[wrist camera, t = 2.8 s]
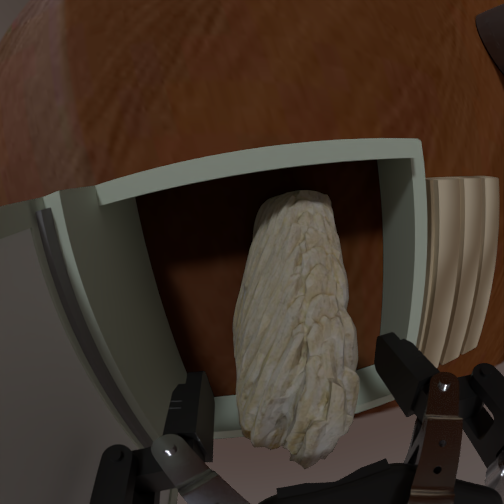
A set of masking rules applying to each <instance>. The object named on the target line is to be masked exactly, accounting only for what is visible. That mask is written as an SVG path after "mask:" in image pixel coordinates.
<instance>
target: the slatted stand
mask: <svg viewBox="0 0 504 504" xmlns="http://www.w3.org/2000/svg"><path fill="white" fill-rule="evenodd" d="M425 181H426V196H427V261H426V276H425V287H424V297H423V305H422V313H421V319H420V326H419V332H418V337H417V343H416V347H417V348H418V350H420V351H421V352H422V353H423V355H425V356H426V358H427V359H428V360H429V361H430V362H431V363H432V364H433V365H434V366H435V367H436V368H437V367H438V364H439V362H440V364H441V365H443V364H445V363H447V362H449V361H451V360H453V359H455V358H457V357H459V354H460V353H461V354H462V355H463V354H465V353H466V352H468V351H470V350H472V349H473V348H475V347H477V344H478V340H479V337H480V334H481V330H482V327H483V323H484V319H485V315H486V311H487V307H488V302H489V297H490V292H491V287H492V281H493V275H494V269H495V261H496V253H497V242H498V228H499V178H495V177H489V176H461V177H437V178H425Z"/></svg>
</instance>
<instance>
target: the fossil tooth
mask: <svg viewBox="0 0 504 504" xmlns="http://www.w3.org/2000/svg"><path fill="white" fill-rule="evenodd" d="M348 299H349V294H348V281H347V276H346V271H345V269H344V266H343V260H342V253H341V247H340V241H339V236H338V235H337V230H336V226H335V222H334V216H333V210H332V208H331V201H330V198H329V197H328V195H327V194H322V193H320V192H317V191H311V190H297V191H292V192H287V193H285V194H282V195H278V196H275V197H272V198H269V199H268V200H267V201H265V202H264V203H263V204H262V205H261V207H260V209H259V211H258V213H257V216H256V219H255V223H254V230H253V241H252V244H251V246H250V249H249V255H248V259H247V262H246V266H245V271H244V275H243V279H242V284H241V289H240V293H239V296H238V300H237V303H236V308H235V312H234V317H233V334H234V336H233V341H234V357H235V358H236V369H237V384H236V402H237V409H238V415H239V425H240V427H241V430H242V434H243V435H244V436H245V437H246V438H248V439H250V440H251V443H252V445H253V446H254V447H266V448H268V449H270V450H271V449H275V448H279V447H280V446H283V448H285V449H288V450H289V452H290V454H291V457H290V461H295V462H297V463H298V464H300V465H301V466H302V467H303V468H304V469H306V468H308V467H310V466H312V465H314V464H315V463H316V462H318V460H319V459H325V458H326V457H327V456H328V454H329V453H331V452H332V451H333V449H334V448H335V446H336V444H337V441H338V439H339V438H340V437H341V436H342V435H344V434H346V433H347V432H348V430H349V427H350V425H351V424H352V423H353V418H354V414H355V410H356V405H357V400H358V394H359V382H360V379H359V376H358V375H357V373H356V367H357V362H358V347H357V334H356V328H355V326H354V324H353V322H352V319H351V318H350V316H349V315H348V313H347V311H346V309H347V304H348Z"/></svg>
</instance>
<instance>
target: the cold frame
mask: <svg viewBox="0 0 504 504" xmlns="http://www.w3.org/2000/svg"><path fill="white" fill-rule="evenodd" d="M364 160H377V165H378V173H379V182H380V193H381V206H382V222H383V300H382V316H381V329H380V336H381V335H384V334H387V333H390V332H394V333H395V334H396V335H397V336H398V337H399V338H400V339H406V340H408V341H410V342H412V343H413V344H414V345H415V346H416V343H417V337H418V332H419V326H420V319H421V313H422V305H423V297H424V287H425V276H426V261H427V196H426V181H425V170H424V160H423V152H422V145H421V140H418V139H408V138H372V139H345V140H328V141H315V142H304V143H294V144H285V145H277V146H269V147H261V148H254V149H248V150H241V151H235V152H229V153H224V154H218V155H213V156H208V157H203V158H198V159H193V160H188V161H184V162H179V163H175V164H171V165H166V166H162V167H158V168H154V169H150V170H147V171H143V172H139V173H136V174H132V175H128V176H125V177H122V178H118V179H115V180H112V181H108V182H105V183H102V184H99V185H96V186H89V187H81V188H74V189H67V190H60V191H57V192H54V193H52V194H49V195H47V196H45V197H42V198H37V199H32V200H27V201H22V202H18V203H13V204H9V205H5V206H1V207H0V504H89V503H90V499H91V495H92V491H93V487H94V483H95V479H96V475H97V471H98V468H99V464H100V460H101V457H102V454H103V452H104V451H105V450H106V449H107V448H108V447H110V446H112V445H115V444H122V445H125V446H127V447H128V448H129V449H130V450H131V451H133V450H138V449H143V448H147V447H150V446H152V444H153V442H154V441H155V440H156V439H157V438H159V437H160V436H162V435H163V431H164V426H165V422H166V417H167V413H168V409H169V404H170V402H171V401H170V400H171V396H172V392H173V391H174V389H175V388H176V387H177V385H178V384H185V383H186V378H187V372H186V370H185V367H184V365H183V362H182V359H181V357H180V354H179V351H178V349H177V346H176V343H175V340H174V338H173V335H172V332H171V329H170V326H169V323H168V320H167V317H166V314H165V311H164V308H163V305H162V301H161V298H160V295H159V291H158V288H157V285H156V281H155V278H154V274H153V271H152V267H151V263H150V259H149V256H148V252H147V248H146V244H145V240H144V235H143V231H142V227H141V222H140V218H139V213H138V208H137V204H136V199H135V197H137V196H141V195H145V194H149V193H154V192H158V191H162V190H166V189H171V188H175V187H180V186H185V185H189V184H194V183H199V182H204V181H209V180H215V179H220V178H225V177H231V176H237V175H243V174H249V173H255V172H262V171H269V170H276V169H283V168H291V167H299V166H308V165H317V164H327V163H338V162H350V161H364ZM356 373H357V375H358V376H359V379H360V382H359V394H358V400H357V405H356V410H355V413H358V412H362V411H365V410H368V409H371V408H374V407H376V406H379V405H382V404H385V403H387V402H390V401H393V400H395V399H394V397H393V396H392V394H391V393H390V391H389V390H388V388H387V387H386V385H385V384H384V382H383V381H382V379H381V378H380V376H379V375H378V373H377V371H376V369H375V365H372V366H369V367H365V368H362V369H359V370H356ZM214 400H215V416H214V437H213V439H221V438H234V437H244V435H243V434H242V430H241V427H240V425H239V415H238V409H237V402H236V395H230V396H221V397H214ZM177 496H178V489H177V488H173V489H168V490H163V491H160V503H159V504H177Z"/></svg>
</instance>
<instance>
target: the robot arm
mask: <svg viewBox="0 0 504 504" xmlns="http://www.w3.org/2000/svg"><path fill="white" fill-rule="evenodd" d="M476 25H477V28H478V31H479V34H480V36H481V38H482V40H483V43H484V45H485V46H486V48H487V50H488V52H489V54H490V55H491V57H492V59H493V60H494V62H495V63H496V65H497V66H498V67H499V69H500V70H501V71H502V73H503V74H504V4H502V5H500V6H497V7H494V8H492V9H490V10H487V11H485V12H483V13H481V14H478V15H477V16H476ZM374 364H375V369H376V371H377V373H378V375H379V376H380V378H381V379H382V381H383V382H384V384H385V385H386V387H387V388H388V390H389V391H390V393H391V394H392V396H393V397H394V399H395V400H396V402H397V403H398V405H399V406H400V408H401V409H402V411H403V412H404V414H405V415H406V417H409V416H411V415H413V414H415V415H416V416H417V419H416V421H415V426H414V430H413V435H412V439H411V443H410V447H409V450H408V454H407V456H406V458H405V461H404V463H392V464H388V462H387V460H386V459H383V460H381V461H378V462H376V463H373V464H370V465H367V466H365V467H362V468H360V469H358V470H356V471H355V472H353V473H351V474H349V475H348V476H346V477H344V478H342V479H340V480H339V481H336V482H327V483H304V484H299V485H294V486H288V487H283V488H277V494H276V495H274V496H271V497H269V498H267V499H265V500H263V501H262V502H260V503H259V504H504V376H503V375H502V374H501V373H500V372H499V371H498V370H497V369H496V368H495V367H494V366H492V365H490V364H487V363H481V364H478V365H477V366H475V368H474V369H473V372H472V374H471V375H467V376H463V377H458V378H457V377H456V376H455V375H454V374H452V373H449V372H440V371H439V370H438V369H437V368H436V367H435V366H434V365H433V364H432V363H431V362H430V361H429V360H428V359H427V358H426V356H425V355H423V353H422V352H421V351H420V350H418V348H417V347H416V346H415V345H414V344H413V343H412V342H410V341H408V340H406V339H400V338H399V337H398V336H397V335H396V334H395V333H394V332H390V333H387V334H384V335H381V336H378V337H377V342H376V351H375V360H374ZM170 401H171V402H170V404H169V409H168V413H167V417H166V422H165V426H164V431H163V435H162V436H160V437H159V438H157V439H156V440H155V441H154V442H153V444H152V446H150V447H147V448H143V449H138V450H133V451H131V450H130V449H129V448H128V447H127V446H125V445H122V444H115V445H112V446H110V447H108V448H107V449H106V450H105V451H104V452H103V454H102V457H101V460H100V464H99V468H98V471H97V475H96V479H95V483H94V487H93V491H92V495H91V499H90V503H89V504H159V503H160V491H163V490H168V489H173V488H177V489H178V492H179V493H180V495H181V496H182V497H183V498H184V500H185V501H186V502H187V503H188V504H250V503H249V502H248V501H247V500H245V499H244V498H243V497H242V496H241V495H240V494H239V493H237V492H236V491H235V490H234V489H233V488H232V487H231V486H230V485H229V484H228V483H227V482H226V481H224V480H223V479H222V478H221V477H220V476H219V475H218V474H217V473H216V472H215V471H212V470H211V469H210V468H209V467H208V466H207V465H206V464H205V462H213V437H214V416H215V400H214V395H213V392H212V389H211V386H210V384H209V381H208V378H207V375H206V373H205V371H199V372H189V373H188V374H187V378H186V383H185V384H178V385H177V387H176V388H175V389H174V391H173V392H172V396H171V400H170ZM484 404H485V405H486V406H487V407H488V409H489V410H490V411H491V412H492V414H493V416H494V420H493V419H492V417H491V416H490V415H489V413H488V412H487V411H486V409H485V408H484V407H483V405H484ZM462 429H463V430H464V432H465V433H466V435H467V436H468V438H469V439H470V441H471V443H472V444H473V446H474V447H475V449H476V451H477V452H478V454H479V455H480V457H481V459H482V461H483V462H484V464H485V466H486V467H487V472H486V479H485V485H486V486H483V485H479V484H474V483H470V482H466V481H462V480H458V479H456V474H457V469H458V463H459V457H460V449H461V440H462Z"/></svg>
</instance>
